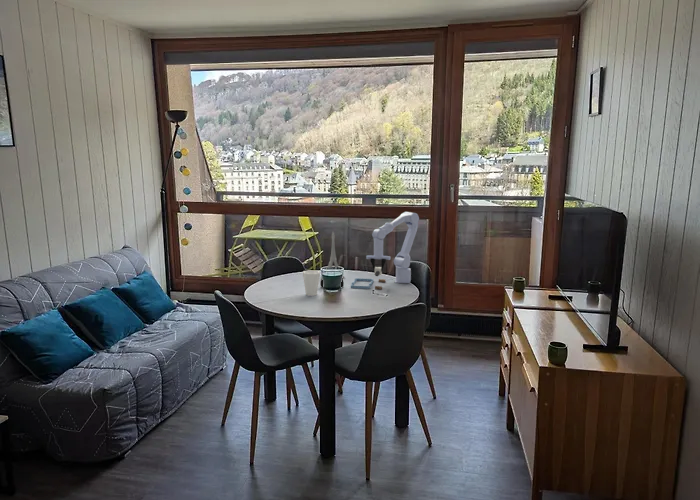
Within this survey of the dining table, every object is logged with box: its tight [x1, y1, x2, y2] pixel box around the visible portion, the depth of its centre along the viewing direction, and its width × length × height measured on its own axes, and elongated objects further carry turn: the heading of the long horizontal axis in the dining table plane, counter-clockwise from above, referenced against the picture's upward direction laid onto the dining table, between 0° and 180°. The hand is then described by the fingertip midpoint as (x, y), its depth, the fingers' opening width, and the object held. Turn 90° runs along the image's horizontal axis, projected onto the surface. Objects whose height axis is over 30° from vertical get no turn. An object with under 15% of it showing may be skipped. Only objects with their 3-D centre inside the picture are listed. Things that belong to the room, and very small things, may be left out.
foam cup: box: [302, 269, 321, 297], centre depth 282 cm, size 10×9×13 cm
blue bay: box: [350, 277, 375, 290], centre depth 306 cm, size 11×19×2 cm, turn 170°
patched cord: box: [374, 266, 383, 277], centre depth 303 cm, size 4×12×4 cm, turn 170°
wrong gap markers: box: [374, 278, 386, 291], centre depth 304 cm, size 4×20×2 cm, turn 170°
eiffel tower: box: [327, 231, 345, 280], centre depth 324 cm, size 13×13×30 cm
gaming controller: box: [319, 277, 345, 288], centre depth 299 cm, size 14×6×10 cm, turn 84°
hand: (378, 271), depth 303 cm, fingers closed on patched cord, 4 cm apart
